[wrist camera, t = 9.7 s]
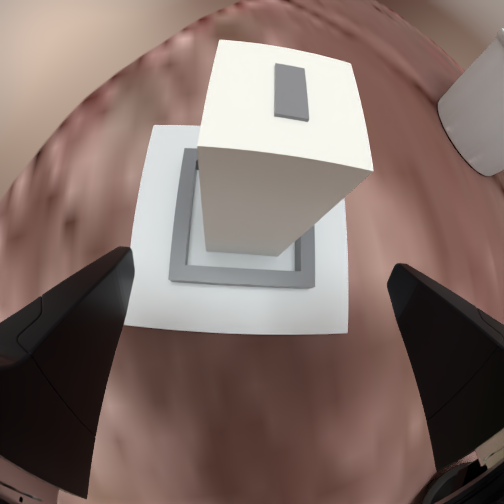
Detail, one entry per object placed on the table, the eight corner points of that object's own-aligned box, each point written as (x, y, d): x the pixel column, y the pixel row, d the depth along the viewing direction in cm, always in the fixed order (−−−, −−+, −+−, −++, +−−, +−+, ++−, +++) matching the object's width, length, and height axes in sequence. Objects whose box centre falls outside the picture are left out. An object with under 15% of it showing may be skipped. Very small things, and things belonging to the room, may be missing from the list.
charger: (277, 256, 20) (376, 168, 7) (206, 251, 19) (197, 143, 7) (279, 191, 21) (352, 61, 8) (212, 185, 21) (219, 36, 8)
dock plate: (340, 332, 21) (357, 334, 18) (129, 324, 19) (117, 325, 16) (333, 149, 24) (345, 134, 22) (156, 133, 22) (151, 114, 20)
